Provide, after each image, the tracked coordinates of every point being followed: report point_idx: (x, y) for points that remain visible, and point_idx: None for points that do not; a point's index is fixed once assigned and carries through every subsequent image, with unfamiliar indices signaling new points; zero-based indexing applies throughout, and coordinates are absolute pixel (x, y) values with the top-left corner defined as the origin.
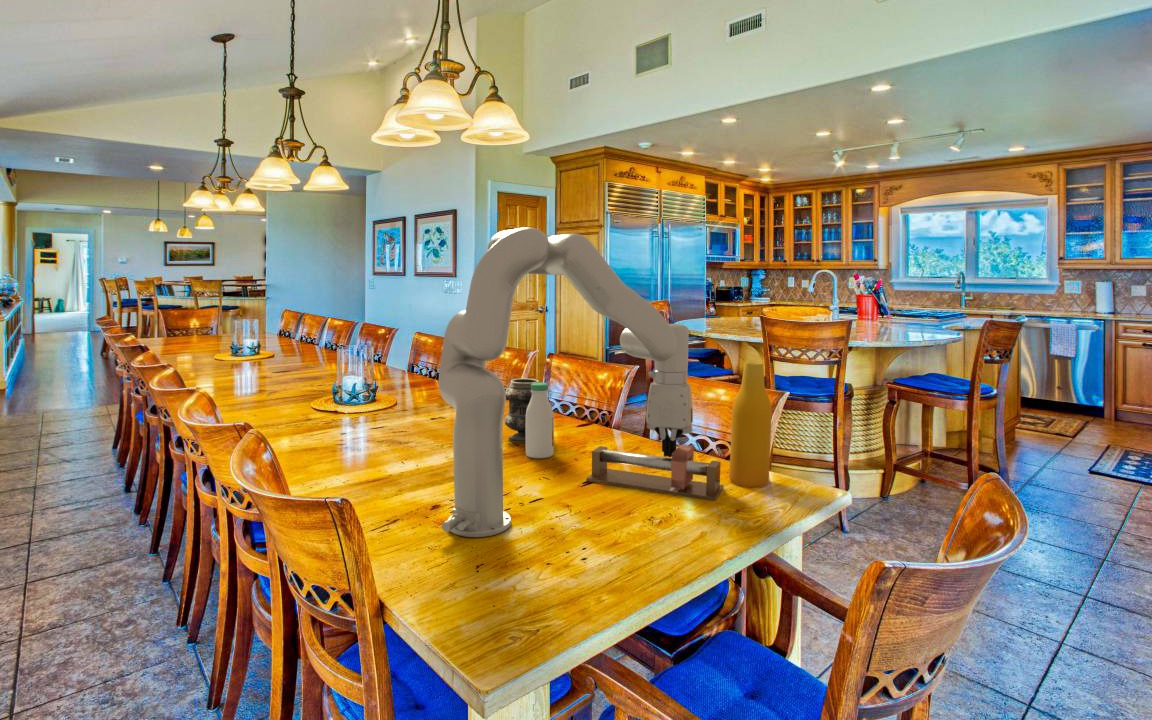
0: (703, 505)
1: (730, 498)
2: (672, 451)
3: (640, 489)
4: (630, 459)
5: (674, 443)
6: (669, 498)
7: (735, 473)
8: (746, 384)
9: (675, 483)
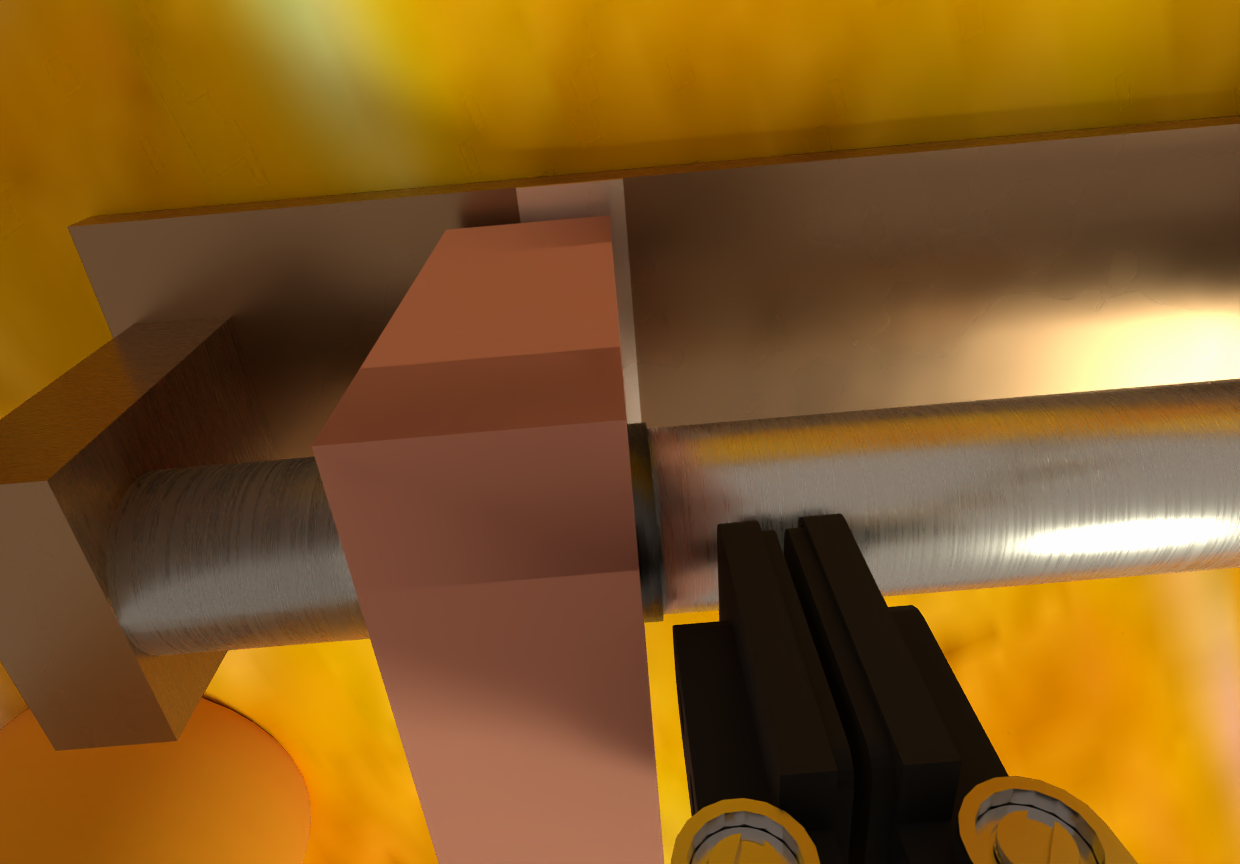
0: (108, 4)
1: (27, 378)
2: (709, 629)
3: (970, 139)
4: None
5: (693, 772)
6: (560, 25)
7: (152, 776)
8: None
9: (550, 233)
